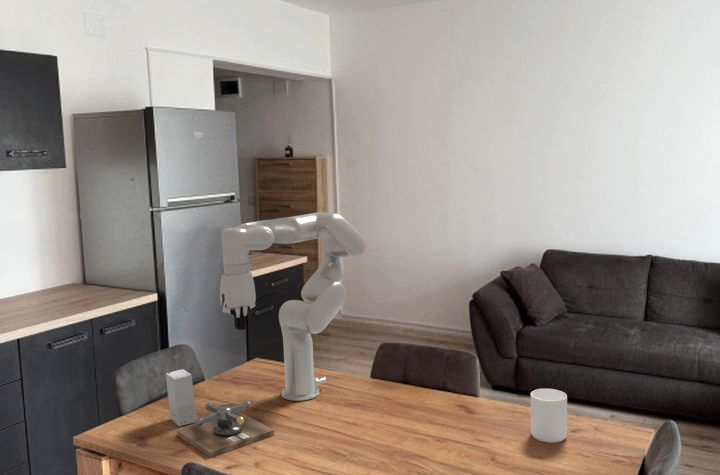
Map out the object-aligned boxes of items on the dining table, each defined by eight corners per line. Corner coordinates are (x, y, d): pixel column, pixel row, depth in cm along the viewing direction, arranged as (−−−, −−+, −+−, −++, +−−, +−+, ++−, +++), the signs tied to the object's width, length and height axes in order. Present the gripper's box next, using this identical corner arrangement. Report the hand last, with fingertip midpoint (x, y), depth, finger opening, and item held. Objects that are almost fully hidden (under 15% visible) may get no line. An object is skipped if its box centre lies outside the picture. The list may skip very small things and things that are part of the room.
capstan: (180, 430, 189) (178, 409, 188) (234, 411, 201) (232, 392, 201) (214, 449, 176) (213, 426, 175) (270, 427, 188) (268, 406, 188)
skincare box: (197, 422, 199) (193, 374, 197) (177, 427, 196) (173, 379, 194) (187, 414, 206) (184, 367, 204) (168, 418, 202) (164, 371, 201)
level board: (238, 415, 203) (238, 410, 203) (274, 435, 188) (274, 429, 187) (177, 435, 190) (176, 429, 190) (210, 457, 175) (210, 451, 175)
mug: (529, 441, 177) (529, 399, 176) (532, 424, 189) (531, 384, 187) (567, 445, 174) (566, 402, 173) (566, 426, 186) (566, 386, 184)
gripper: (251, 264, 205) (255, 322, 208) (208, 271, 196) (212, 331, 198) (264, 267, 200) (268, 326, 202) (220, 274, 190) (224, 336, 192)
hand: (240, 328), depth 200 cm, fingers closed
